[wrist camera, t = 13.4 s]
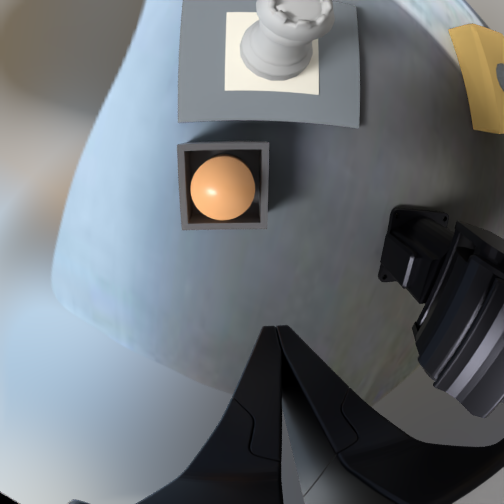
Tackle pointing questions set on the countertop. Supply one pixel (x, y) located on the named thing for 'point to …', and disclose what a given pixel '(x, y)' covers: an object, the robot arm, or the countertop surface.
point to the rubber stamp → (482, 74)
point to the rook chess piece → (284, 36)
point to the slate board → (257, 88)
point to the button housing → (198, 154)
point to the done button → (223, 187)
